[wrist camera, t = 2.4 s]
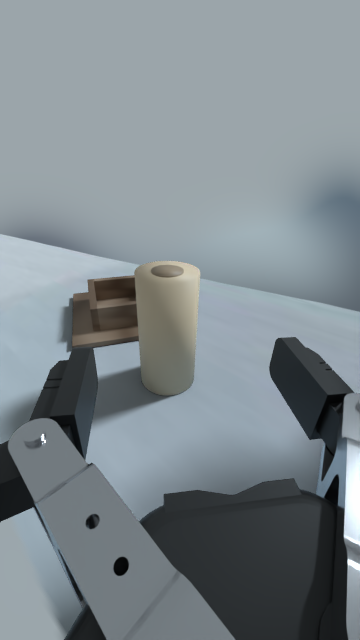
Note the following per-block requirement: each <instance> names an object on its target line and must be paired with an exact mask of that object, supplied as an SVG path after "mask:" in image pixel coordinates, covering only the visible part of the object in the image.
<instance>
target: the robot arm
mask: <svg viewBox="0 0 360 640" xmlns="http://www.w3.org/2000/svg"><path fill="white" fill-rule="evenodd" d="M269 370H270V375H271V378H272V380H273V382H274V383H275V385H276V386H277V388H278V390H279V391H280V393H281V394H282V396H283V398H284V399H285V401H286V402H287V404H288V406H289V407H290V409H291V410H292V412H293V414H294V415H295V417H296V418H297V420H298V422H299V423H300V425H301V426H302V428H303V430H304V431H305V433H306V434H307V436H308V438H309V439H310V440H311V439H321V438H322V439H323V441H324V445H323V447H322V453H321V461H320V469H319V476H318V484H317V490H316V494H314V493H311V492H308V491H304V490H300V489H299V488H298V486H297V484H296V482H295V480H294V478H292V479H283V480H275V481H267V482H262V483H260V484H258V485H256V486H253V487H251V488H249V489H247V490H245V491H242V492H240V493H238V494H235V495H227V494H220V493H214V492H207V491H200V490H194V491H186V492H178V493H169V494H164V505H163V506H161V507H159V508H157V509H155V510H153V511H152V512H150V513H149V514H147V515H146V516H145V517H144V518H142V519H141V520H140V521H138V520H137V519H136V517H135V516H134V515H133V513H132V512H131V511H130V509H129V508H128V507H127V505H126V504H125V503H124V502H123V500H122V499H121V498H120V496H119V495H118V494H117V492H116V491H115V490H114V488H113V487H112V486H111V484H110V483H109V482H108V481H107V479H106V478H105V477H104V475H103V474H102V473H101V471H100V470H99V469H98V468H97V467H96V465H94V464H93V463H91V464H87V463H86V461H85V459H86V453H87V447H88V441H89V435H90V430H91V424H92V418H93V412H94V406H95V400H96V395H97V387H98V378H97V370H96V364H95V357H94V350H93V347H77V348H73V349H72V352H71V355H70V358H69V360H64V361H59V362H58V363H57V364H56V365H55V366H54V367H53V368H52V369H51V370H50V372H49V375H48V377H47V381H46V382H45V384H44V387H43V390H42V392H41V394H40V396H39V399H38V401H37V404H36V406H35V409H34V411H33V413H32V416H31V418H30V421H29V422H27V423H25V424H24V425H22V426H21V427H19V428H18V429H17V430H16V431H15V432H14V433H13V434H12V436H11V438H10V440H9V441H7V442H5V443H2V444H0V522H1V521H3V520H5V519H8V518H10V517H12V516H14V515H17V514H19V513H21V512H23V511H26V510H28V509H30V508H32V507H33V508H34V510H35V512H36V514H37V516H38V518H39V520H40V522H41V524H42V526H43V528H44V530H45V532H46V534H47V536H48V538H49V540H50V542H51V544H52V546H53V548H54V550H55V552H56V554H57V556H58V559H59V561H60V563H61V565H62V567H63V569H64V572H65V574H66V576H67V578H68V580H69V582H70V584H71V586H72V588H73V590H74V592H75V594H76V596H77V598H78V600H79V602H80V604H81V606H82V608H83V609H82V611H81V613H80V614H79V616H78V618H77V619H76V621H75V623H74V624H73V626H72V628H71V629H70V631H69V633H68V634H67V636H66V638H65V639H64V640H360V393H354V392H353V391H352V389H351V388H350V387H349V386H348V385H347V384H346V383H345V382H344V381H343V380H342V379H341V378H340V377H339V376H338V375H337V374H336V373H335V371H334V370H332V368H331V367H330V366H329V365H328V364H326V362H325V361H324V360H323V359H322V358H321V357H320V356H319V355H318V354H317V353H315V352H314V351H312V350H311V349H309V348H305V347H304V346H303V344H302V343H301V342H300V341H299V340H298V339H297V338H296V337H288V338H278V339H277V340H276V342H275V346H274V350H273V354H272V358H271V362H270V367H269Z"/></svg>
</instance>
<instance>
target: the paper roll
mask: <svg viewBox="0 0 360 640" xmlns="http://www.w3.org/2000/svg"><path fill="white" fill-rule="evenodd" d="M199 283H200V271H199V269H198V268H197V267H195V266H193V265H191V264H188V263H183V262H176V261H157V262H151V263H146V264H143V265H141V266H139V267H138V268H136V270H135V288H136V303H137V318H138V333H139V349H140V364H141V379H142V383H143V385H144V386H145V387H146V388H147V389H148V390H149V391H151V392H153V393H155V394H158V395H164V396H170V395H176V394H180V393H182V392H184V391H186V390H187V389H188V388H189V387H190V386H191V385H192V383H193V380H194V367H195V350H196V333H197V317H198V300H199Z"/></svg>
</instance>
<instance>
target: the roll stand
mask: <svg viewBox="0 0 360 640" xmlns="http://www.w3.org/2000/svg"><path fill="white" fill-rule="evenodd" d="M88 291H89V292H87V293H77V294H73V333H72V348H77V347H98V346H105V345H111V344H118V343H124V342H130V341H137V340H139V333H138V318H137V303H136V288H135V275H134V276H123V277H112V278H101V279H90V280H88Z"/></svg>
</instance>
